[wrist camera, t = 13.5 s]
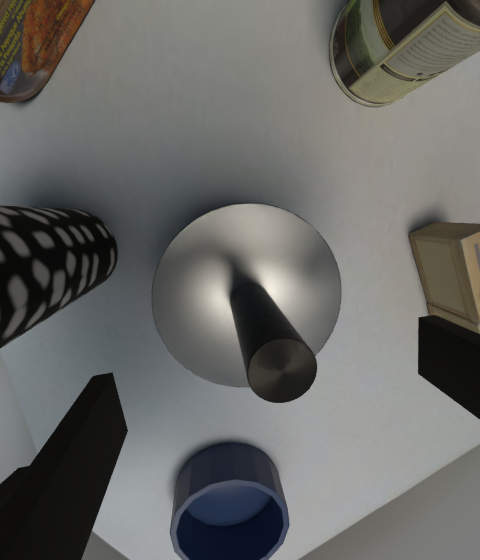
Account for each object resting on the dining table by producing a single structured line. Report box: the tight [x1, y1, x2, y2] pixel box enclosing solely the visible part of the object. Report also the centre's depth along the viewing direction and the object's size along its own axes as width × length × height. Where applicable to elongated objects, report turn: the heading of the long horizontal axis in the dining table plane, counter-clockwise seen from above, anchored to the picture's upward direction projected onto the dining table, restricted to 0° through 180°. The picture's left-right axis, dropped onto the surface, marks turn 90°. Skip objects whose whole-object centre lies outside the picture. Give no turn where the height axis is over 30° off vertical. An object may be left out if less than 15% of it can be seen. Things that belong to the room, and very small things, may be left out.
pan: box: [170, 443, 289, 560], centre depth 36 cm, size 13×13×5 cm
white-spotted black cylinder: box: [0, 206, 118, 348], centre depth 20 cm, size 8×8×20 cm
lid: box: [152, 203, 341, 403], centre depth 17 cm, size 14×14×11 cm
